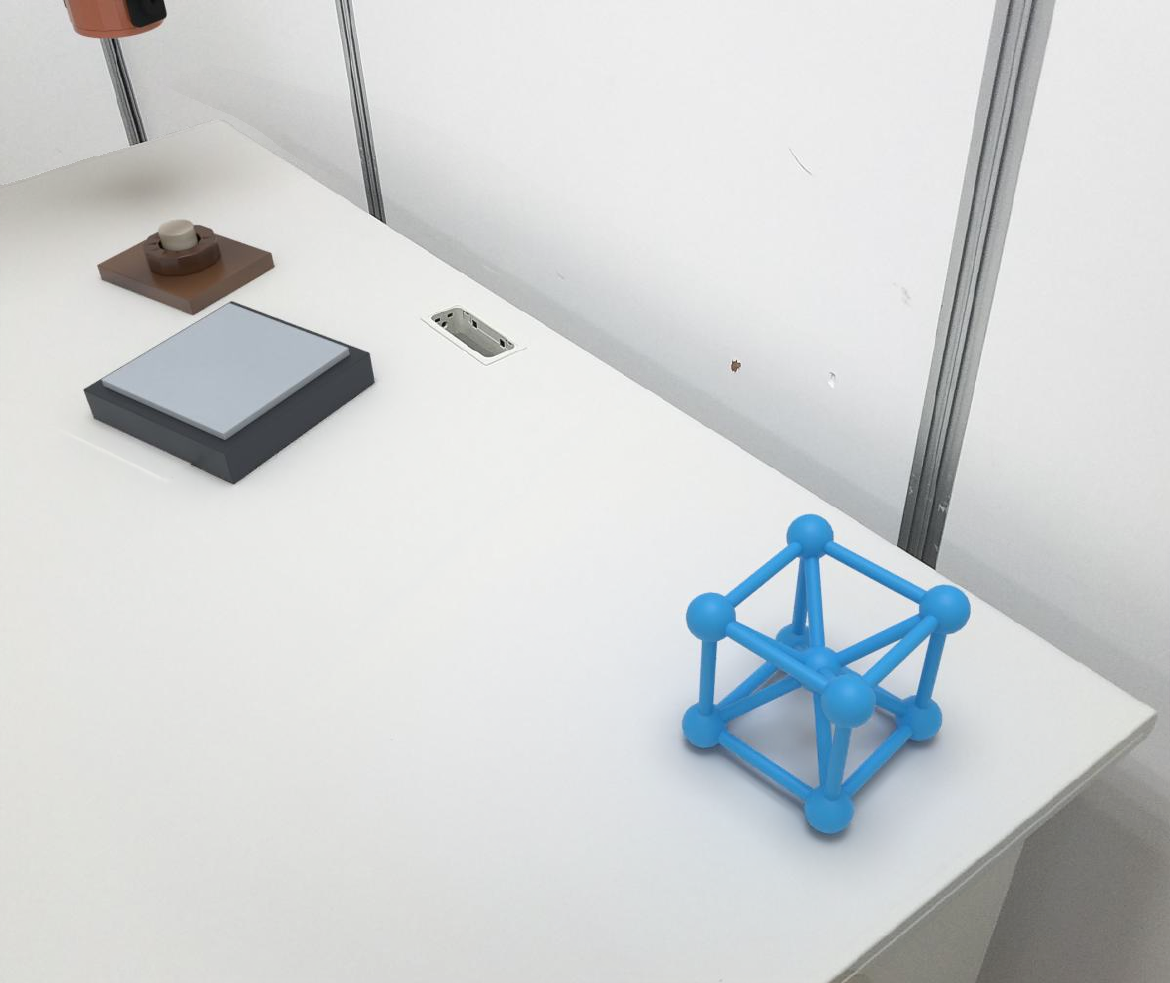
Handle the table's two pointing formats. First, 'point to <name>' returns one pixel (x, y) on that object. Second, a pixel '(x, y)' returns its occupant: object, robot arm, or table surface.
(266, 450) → the scale
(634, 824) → the table surface
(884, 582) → the molecular structure
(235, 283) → the panel
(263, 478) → the table surface
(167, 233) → the button
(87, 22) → the terracotta cup
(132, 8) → the robot arm
